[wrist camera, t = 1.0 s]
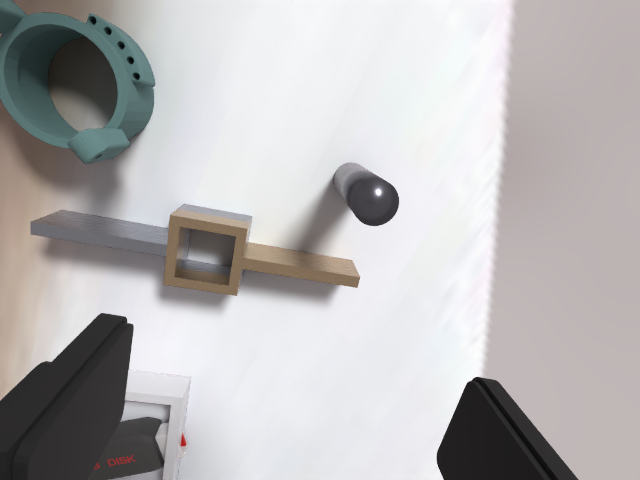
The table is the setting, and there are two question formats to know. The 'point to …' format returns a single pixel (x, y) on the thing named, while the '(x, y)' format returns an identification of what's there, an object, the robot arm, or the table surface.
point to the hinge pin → (366, 194)
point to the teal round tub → (32, 80)
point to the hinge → (177, 244)
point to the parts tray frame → (168, 393)
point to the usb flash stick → (135, 449)
